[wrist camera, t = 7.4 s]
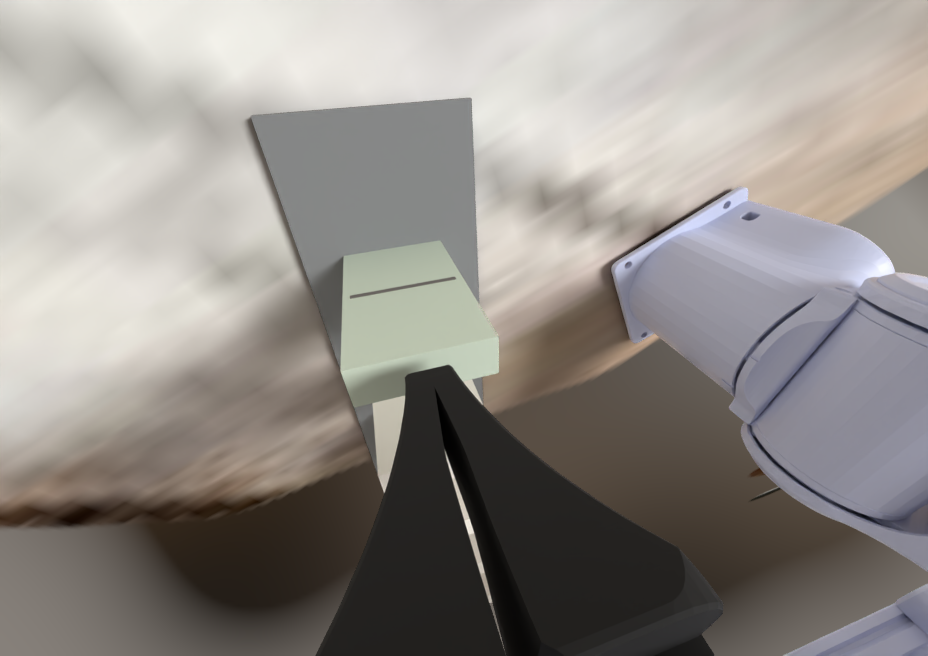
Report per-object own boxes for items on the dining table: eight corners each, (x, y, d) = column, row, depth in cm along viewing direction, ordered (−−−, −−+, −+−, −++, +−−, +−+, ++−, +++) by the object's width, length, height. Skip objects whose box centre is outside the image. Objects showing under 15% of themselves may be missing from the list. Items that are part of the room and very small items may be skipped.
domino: (367, 341, 21) (378, 475, 14) (449, 325, 22) (499, 442, 14) (373, 362, 22) (385, 497, 14) (451, 346, 23) (498, 465, 15)
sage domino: (343, 255, 18) (340, 370, 10) (440, 239, 18) (498, 336, 11) (351, 284, 18) (353, 408, 11) (443, 268, 19) (499, 373, 12)
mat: (252, 115, 14) (250, 116, 14) (468, 97, 16) (471, 97, 15) (400, 536, 35) (400, 540, 34) (486, 509, 36) (487, 513, 36)
